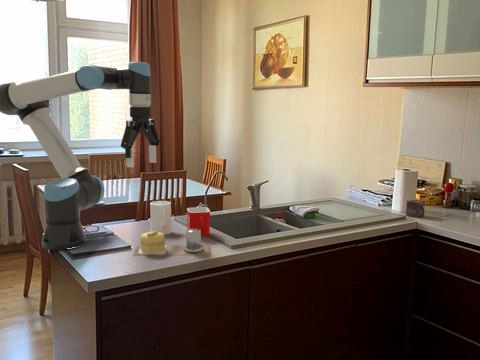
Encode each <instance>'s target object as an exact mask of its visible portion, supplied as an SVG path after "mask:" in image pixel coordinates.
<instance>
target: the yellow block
mask: <svg viewBox="0 0 480 360" xmlns="http://www.w3.org/2000/svg"><path fill="white" fill-rule="evenodd" d="M139 243H140V244H139V246H141V251H142V252H146V253H156V252H161V251H163V250H165V245H166V241H165V234H164V233H161V232H158V231H153V232H150V231H148V232H144V233H141V234H140V242H139Z"/></svg>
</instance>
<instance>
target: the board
mask: <svg viewBox="0 0 480 360" xmlns="http://www.w3.org/2000/svg"><path fill="white" fill-rule="evenodd" d="M166 245H167V248H166V252H165V254H152V255H138V252H139V250H140V247H141V245H136V248H135V250H134V253H133V254H132V257H146V256H147V257H149V256H153V257H154V256H158V257H159V256H200V255H201V256H203V255H204V256H206V255H207V256H211V255H212V245H211V244H201V245H202V246H203V247H204V250H203V251H202V252H198V253H188V252H185V251H184V250H183V247H184V246H186V244H166Z"/></svg>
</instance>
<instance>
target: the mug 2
mask: <svg viewBox="0 0 480 360" xmlns="http://www.w3.org/2000/svg"><path fill="white" fill-rule="evenodd" d="M186 212H187V218H186V221H187V225H186V226H187V229H186V230H188V229H199V230H201V237H209V236H211V235H210V234H211V233H210V232H211V231H210V229H211V228H210V227H211V226H210V221H211V220H210V219H211V217H210V215H211V210H210V208H209V207H208V206H207V207H205V206H202V207H200V206H199V207H188V208H186Z"/></svg>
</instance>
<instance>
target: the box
mask: <svg viewBox="0 0 480 360" xmlns="http://www.w3.org/2000/svg"><path fill="white" fill-rule="evenodd" d="M425 203H426V200H421V199H420V200H419V199H415V198H413V199H407V200H406V206H405V207H406V209H405V216H406V217H410V218H411V217H412V218H415V219H419V218H423V217H425V208H426V207H425V205H426V204H425Z"/></svg>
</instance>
